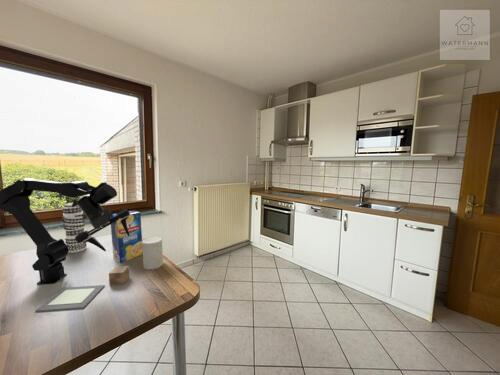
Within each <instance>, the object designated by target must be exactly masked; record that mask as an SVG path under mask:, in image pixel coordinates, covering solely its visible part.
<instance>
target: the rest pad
mask: <svg viewBox="0 0 500 375" xmlns="http://www.w3.org/2000/svg"><path fill="white" fill-rule="evenodd" d="M105 287H106V286H105V284H100V285H85V286H84V285H83V286H82V285H80V286H69V287H63V288H62V289H60V290H59V291H58V292H56V293H55V294H54V295H52V296H51V297H50V298H49V299H48V300H46V301H45V302H44V303H43V304H42V305H40V306H39V307H38V308H37V309H35V311H34V312H35V313H38V312H53V311H65V310H66V311H68V310H79V309H85V308H86V307H87V306H88V304H90V302H91V301H92V300H94V298H95V297H96V296H97V295H98V294H99V293H100V292H101V291H102V290H103V289H104V288H105Z"/></svg>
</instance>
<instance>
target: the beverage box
mask: <svg viewBox="0 0 500 375" xmlns="http://www.w3.org/2000/svg"><path fill="white" fill-rule="evenodd" d="M128 212H129V213H130V215H129V216H127V217H128V219H126V223H127V228H128V232H129V235H130V236H128V235H127V233H126V231H125V229H124V227H123V225H122V223H121V220H120V219H119V220H117V221H116V222H114V223H112V224H110V230H111V231H110V232H111V244H112V256H113V260H115V261H116V262H118V263H124V262H127V261H129V260H132V259H134V257H135V258H138V257H140V256H143V255H142V254H143V248H142V241H143V235H142V232H143V231H142V219H141V212H140V211H138V210H128ZM112 215H113V216H112V217H110V219H112V218H114V217H115V216H117V213H112ZM139 255H140V256H139ZM137 256H138V257H137Z"/></svg>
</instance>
